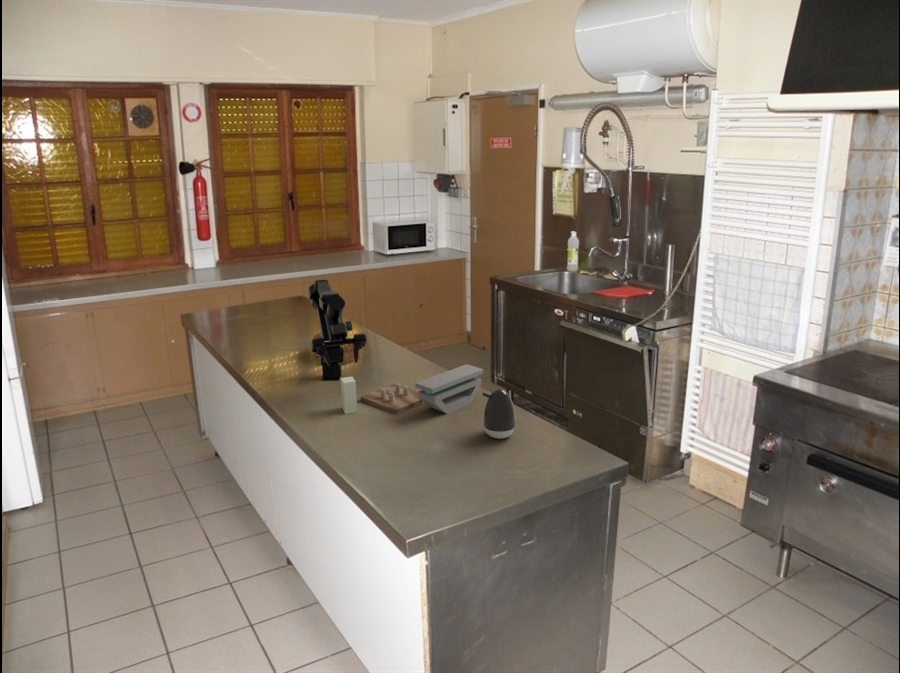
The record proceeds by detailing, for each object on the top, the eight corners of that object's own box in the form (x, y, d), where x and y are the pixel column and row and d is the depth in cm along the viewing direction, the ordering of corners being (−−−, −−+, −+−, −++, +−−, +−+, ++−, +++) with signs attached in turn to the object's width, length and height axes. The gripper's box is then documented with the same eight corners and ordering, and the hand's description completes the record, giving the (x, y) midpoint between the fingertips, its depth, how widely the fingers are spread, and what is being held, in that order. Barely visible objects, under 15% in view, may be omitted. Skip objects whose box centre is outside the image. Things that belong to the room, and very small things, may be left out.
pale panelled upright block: (353, 406, 237) (352, 375, 233) (357, 412, 232) (355, 381, 228) (342, 407, 235) (340, 377, 232) (345, 413, 230) (343, 383, 227)
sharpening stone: (432, 420, 225) (432, 388, 222) (416, 413, 230) (415, 383, 227) (483, 398, 242) (483, 369, 239) (466, 393, 248) (466, 364, 244)
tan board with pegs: (396, 414, 230) (396, 401, 229) (360, 400, 241) (360, 388, 240) (429, 400, 241) (429, 387, 240) (393, 387, 253) (393, 376, 251)
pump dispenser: (479, 429, 218) (480, 383, 214) (512, 427, 219) (513, 382, 215) (484, 443, 209) (484, 396, 204) (518, 441, 209) (519, 394, 205)
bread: (312, 356, 288) (311, 333, 285) (333, 350, 295) (331, 328, 292) (340, 366, 276) (339, 342, 273) (361, 360, 283) (360, 336, 280)
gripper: (309, 316, 233) (317, 357, 227) (364, 310, 239) (373, 350, 233) (307, 332, 243) (315, 371, 236) (360, 326, 249) (368, 365, 242)
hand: (343, 364), depth 237 cm, fingers open, 9 cm apart
